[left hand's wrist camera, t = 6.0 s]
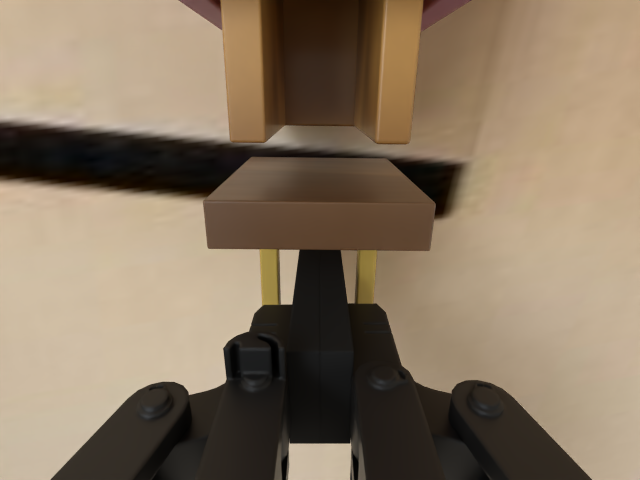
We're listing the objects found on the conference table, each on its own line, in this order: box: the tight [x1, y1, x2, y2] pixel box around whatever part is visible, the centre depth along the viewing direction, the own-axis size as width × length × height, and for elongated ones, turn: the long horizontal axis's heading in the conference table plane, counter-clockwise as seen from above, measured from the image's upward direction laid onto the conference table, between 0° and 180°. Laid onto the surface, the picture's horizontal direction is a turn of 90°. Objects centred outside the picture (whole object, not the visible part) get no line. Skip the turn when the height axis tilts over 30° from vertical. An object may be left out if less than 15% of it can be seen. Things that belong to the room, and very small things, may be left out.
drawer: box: [203, 0, 436, 306], centre depth 11 cm, size 21×5×7 cm, turn 179°
